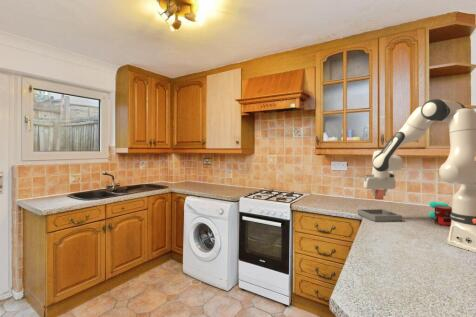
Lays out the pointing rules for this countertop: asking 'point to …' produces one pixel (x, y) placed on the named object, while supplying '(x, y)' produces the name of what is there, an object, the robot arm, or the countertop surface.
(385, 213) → the grey bin
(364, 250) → the countertop surface
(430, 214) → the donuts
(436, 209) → the canned food
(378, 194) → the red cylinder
